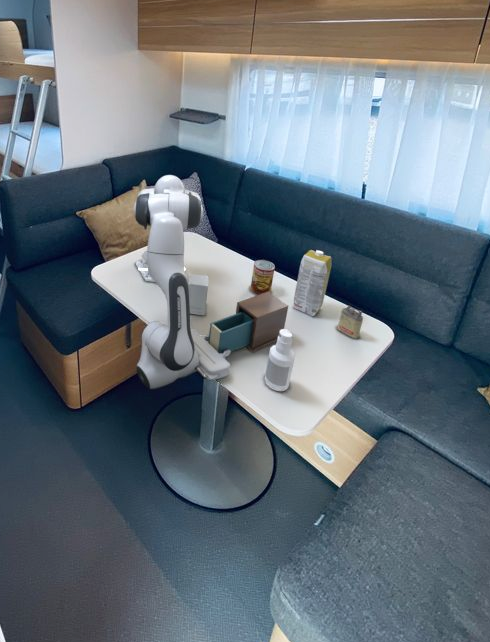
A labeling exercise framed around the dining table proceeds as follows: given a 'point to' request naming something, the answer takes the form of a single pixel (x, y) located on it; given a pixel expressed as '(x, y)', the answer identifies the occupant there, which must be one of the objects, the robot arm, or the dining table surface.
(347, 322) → the lighter
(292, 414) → the dining table surface
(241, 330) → the container
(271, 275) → the canned food
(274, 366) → the spray bottle
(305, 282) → the juice carton
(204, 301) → the white packaging box
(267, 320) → the drawer cabinet
